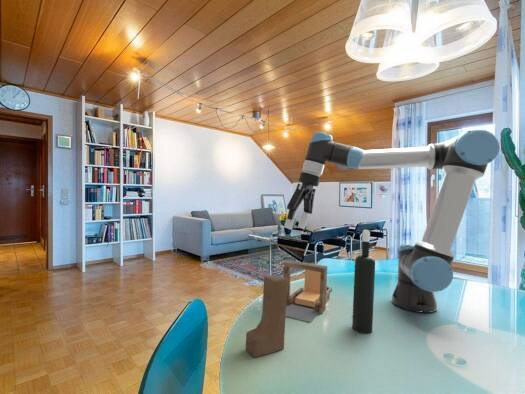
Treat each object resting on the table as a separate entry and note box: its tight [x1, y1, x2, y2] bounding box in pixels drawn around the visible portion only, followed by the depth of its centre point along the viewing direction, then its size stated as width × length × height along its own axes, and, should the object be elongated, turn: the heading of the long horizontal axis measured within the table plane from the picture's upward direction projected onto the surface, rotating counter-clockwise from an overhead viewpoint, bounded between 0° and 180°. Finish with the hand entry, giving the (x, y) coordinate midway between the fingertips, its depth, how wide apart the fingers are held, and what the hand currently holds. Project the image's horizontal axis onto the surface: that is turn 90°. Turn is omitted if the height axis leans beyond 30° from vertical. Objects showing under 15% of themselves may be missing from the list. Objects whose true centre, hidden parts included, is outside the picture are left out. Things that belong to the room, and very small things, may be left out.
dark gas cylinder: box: [351, 229, 376, 335], centre depth 86 cm, size 6×6×30 cm
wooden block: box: [245, 274, 287, 358], centre depth 72 cm, size 9×4×18 cm, turn 122°
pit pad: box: [326, 286, 333, 293], centre depth 121 cm, size 8×8×1 cm
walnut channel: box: [282, 259, 331, 315], centre depth 107 cm, size 16×15×16 cm
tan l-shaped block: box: [294, 270, 321, 308], centre depth 108 cm, size 12×7×11 cm, turn 153°
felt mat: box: [285, 303, 320, 324], centre depth 96 cm, size 11×12×1 cm
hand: (294, 228), depth 107 cm, fingers open, 13 cm apart
